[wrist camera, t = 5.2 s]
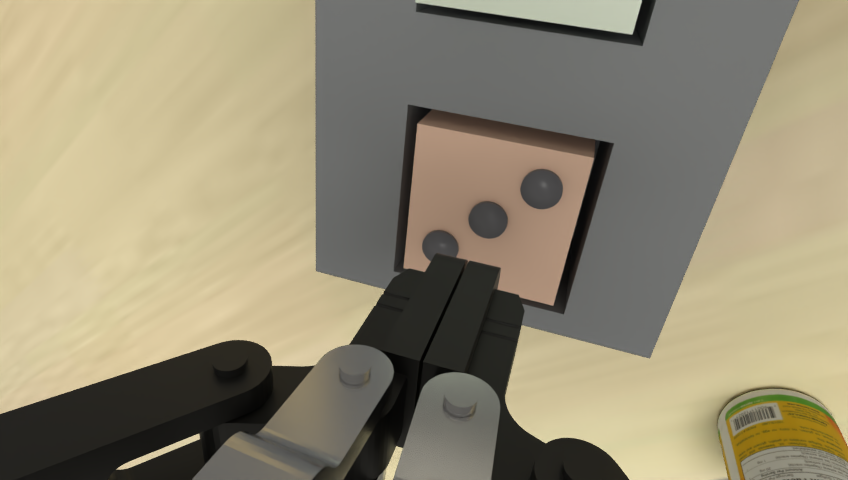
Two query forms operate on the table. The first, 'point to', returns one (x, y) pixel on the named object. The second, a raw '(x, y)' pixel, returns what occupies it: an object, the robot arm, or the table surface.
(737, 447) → the supplement bottle
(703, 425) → the table surface
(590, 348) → the table surface
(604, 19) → the pale green flat block
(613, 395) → the table surface
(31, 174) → the table surface
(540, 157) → the tan block with dots
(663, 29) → the console
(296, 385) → the robot arm
